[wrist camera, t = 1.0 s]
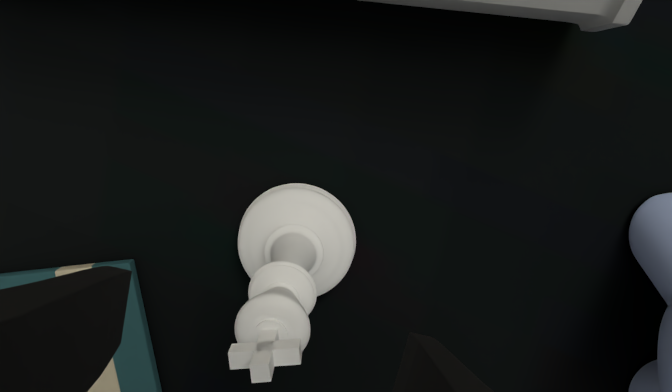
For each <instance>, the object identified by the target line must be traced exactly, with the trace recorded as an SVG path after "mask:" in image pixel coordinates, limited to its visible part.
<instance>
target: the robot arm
mask: <svg viewBox="0 0 672 392" xmlns="http://www.w3.org/2000/svg"><path fill="white" fill-rule="evenodd" d="M131 275H132V271H130V270H126V269H121V268H117V267H112V266H100V267H94V268H90V269H85V270H81V271H77V272H73V273H69V274H65V275H61V276H57V277H53V278H49V279H45V280H41V281H37V282H32V283H28V284H23V285H19V286H14V287H9V288H5V289H0V392H88V390H89V389H90V388H91V387H92V386H93V384H94V383H95V382H96V381H97V380H98V378H99V377H100V376H101V374H102V373H103V371H104V370H105V368H106V367H107V365H108V364H109V362H110V361H111V359H112V357H113V356H114V354H115V352H116V351H117V349H118V347H119V346H120V344H121V339H122V333H123V326H124V320H125V313H126V307H127V300H128V294H129V288H130V281H131ZM392 392H494V391H492V390H491V389H490V388H489V387H488V386H486V385H485V384H484V383H483V382H482V381H481V380H480V379H479V378H478V377H476V376H475V375H474V374H473V373H472V372H471V371H470V370H469V369H468V368H467V367H466V366H465V365H463V364H462V363H461V362H460V361H459V360H458V359H457V358H456V357H455V356H454V355H453V354H452V353H451V352H450V351H449V350H448V349H446V348H445V347H444V346H443V345H442V344H441V343H440V342H438V341H437V340H436V339H434V338H433V337H429V336H424V335H420V334H415V333H411V332H410V333H409V336H408V339H407V343H406V346H405V350H404V353H403V357H402V360H401V363H400V367H399V370H398V374H397V377H396V381H395V384H394V388H393V391H392Z"/></svg>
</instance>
